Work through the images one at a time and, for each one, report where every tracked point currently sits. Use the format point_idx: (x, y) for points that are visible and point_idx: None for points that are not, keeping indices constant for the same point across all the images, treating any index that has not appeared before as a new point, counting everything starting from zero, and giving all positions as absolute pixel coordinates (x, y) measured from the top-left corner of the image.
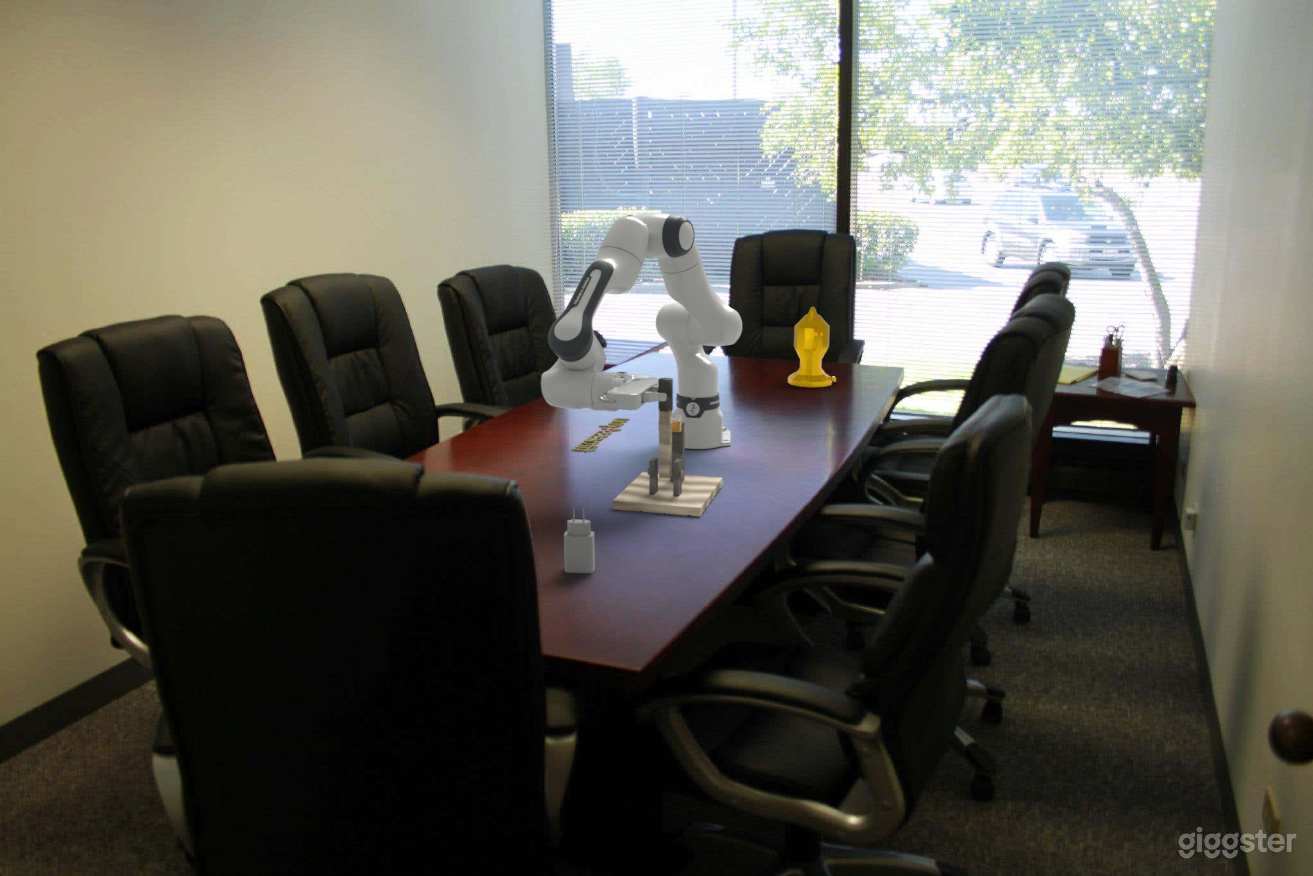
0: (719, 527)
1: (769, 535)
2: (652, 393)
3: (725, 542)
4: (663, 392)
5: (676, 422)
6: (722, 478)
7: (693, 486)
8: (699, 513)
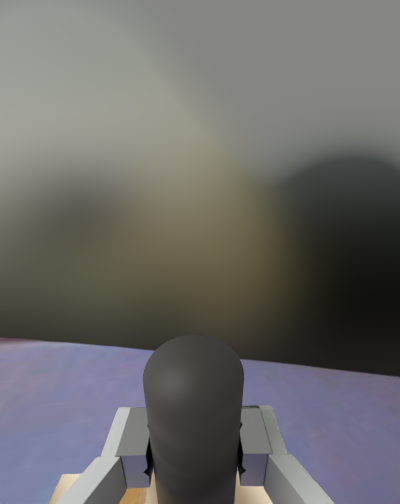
0: (293, 430)
1: (280, 367)
2: (330, 500)
3: (339, 408)
4: (250, 422)
5: (139, 489)
6: (65, 474)
7: None
8: None
